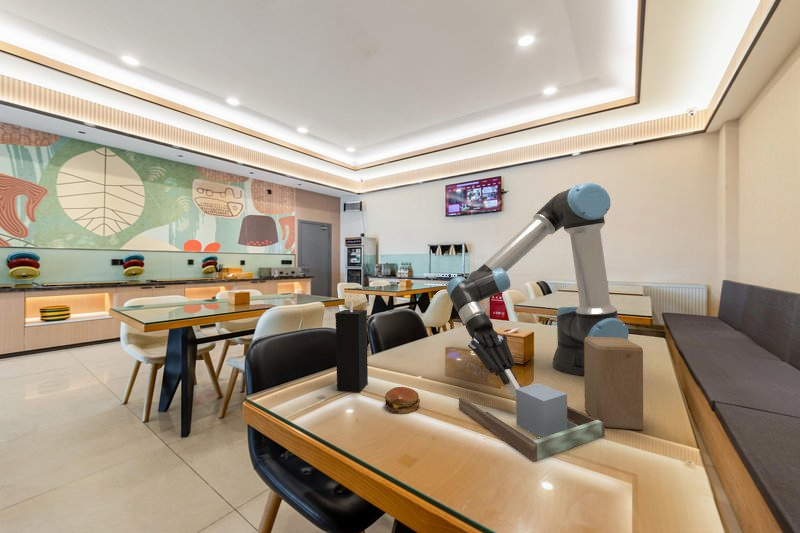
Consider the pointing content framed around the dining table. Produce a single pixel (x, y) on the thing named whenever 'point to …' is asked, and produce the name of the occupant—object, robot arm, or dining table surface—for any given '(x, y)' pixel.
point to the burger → (402, 400)
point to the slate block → (541, 410)
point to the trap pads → (569, 426)
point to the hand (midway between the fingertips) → (517, 394)
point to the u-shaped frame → (546, 445)
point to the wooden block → (614, 381)
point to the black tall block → (351, 349)
